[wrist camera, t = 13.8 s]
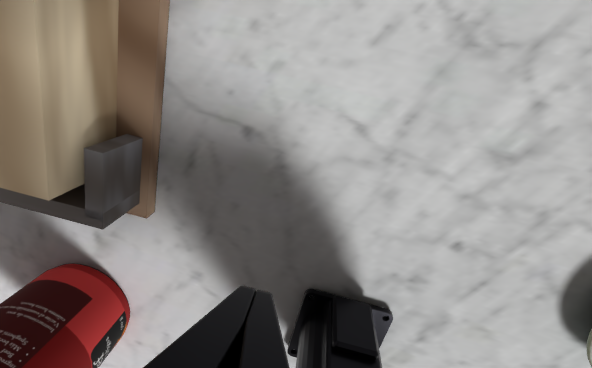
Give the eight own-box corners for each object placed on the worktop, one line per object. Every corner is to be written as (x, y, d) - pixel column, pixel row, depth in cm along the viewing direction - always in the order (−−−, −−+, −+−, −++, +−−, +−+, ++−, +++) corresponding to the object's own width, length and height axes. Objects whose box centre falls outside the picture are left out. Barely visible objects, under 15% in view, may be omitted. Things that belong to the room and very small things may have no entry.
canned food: (90, 348, 27) (-52, 515, 17) (24, 282, 25) (-182, 427, 15) (153, 319, 25) (34, 490, 15) (86, 245, 23) (-103, 384, 13)
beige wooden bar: (121, -164, 14) (14, -281, 9) (115, 168, 20) (48, 200, 15) (45, -183, 14) (-100, -309, 9) (62, 154, 20) (-21, 182, 15)
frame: (154, 211, 22) (112, 246, 17) (45, 182, 22) (-23, 210, 18) (185, -225, 13) (121, -356, 9) (10, -269, 14) (-133, -418, 9)
